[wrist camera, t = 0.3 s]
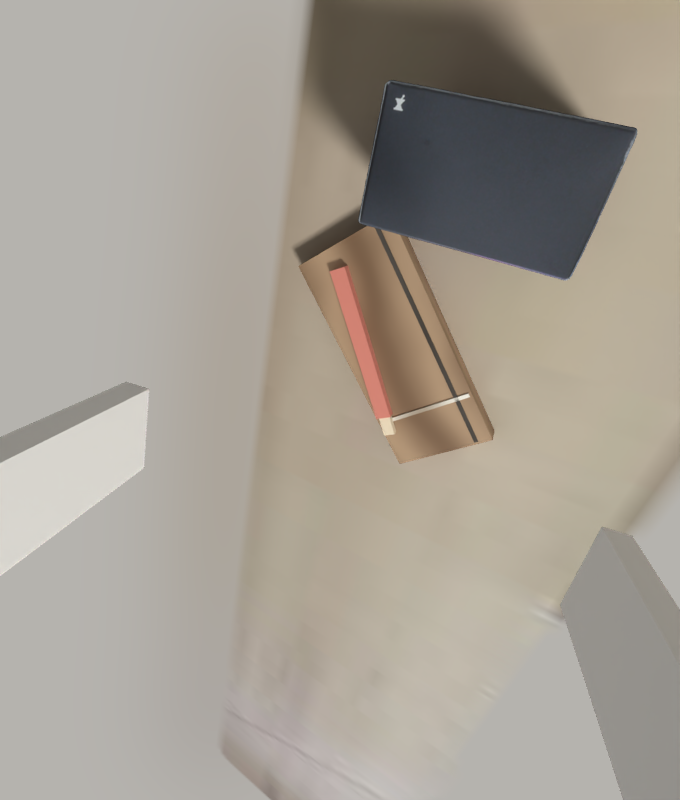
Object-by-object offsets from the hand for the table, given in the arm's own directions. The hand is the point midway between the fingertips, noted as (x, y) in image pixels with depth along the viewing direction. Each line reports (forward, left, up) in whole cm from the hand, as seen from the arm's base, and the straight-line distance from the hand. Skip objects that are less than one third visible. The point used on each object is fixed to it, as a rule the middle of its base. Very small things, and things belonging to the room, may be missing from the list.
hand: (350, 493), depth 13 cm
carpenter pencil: (+8, 0, -22) cm, 23 cm away
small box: (-5, -6, -23) cm, 25 cm away
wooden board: (+6, +1, -23) cm, 24 cm away
